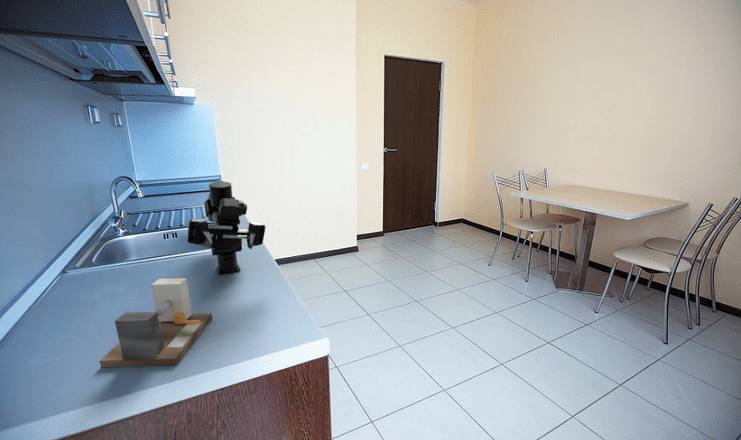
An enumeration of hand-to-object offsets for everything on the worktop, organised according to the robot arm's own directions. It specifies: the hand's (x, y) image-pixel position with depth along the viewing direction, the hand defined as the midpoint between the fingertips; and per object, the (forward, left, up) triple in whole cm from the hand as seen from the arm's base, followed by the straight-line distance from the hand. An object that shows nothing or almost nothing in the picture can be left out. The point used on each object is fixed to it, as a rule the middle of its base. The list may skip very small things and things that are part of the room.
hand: (231, 246), depth 84 cm
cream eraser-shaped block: (+5, -15, -14) cm, 21 cm away
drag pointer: (+7, -12, -14) cm, 19 cm away
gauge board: (+9, -17, -16) cm, 25 cm away
